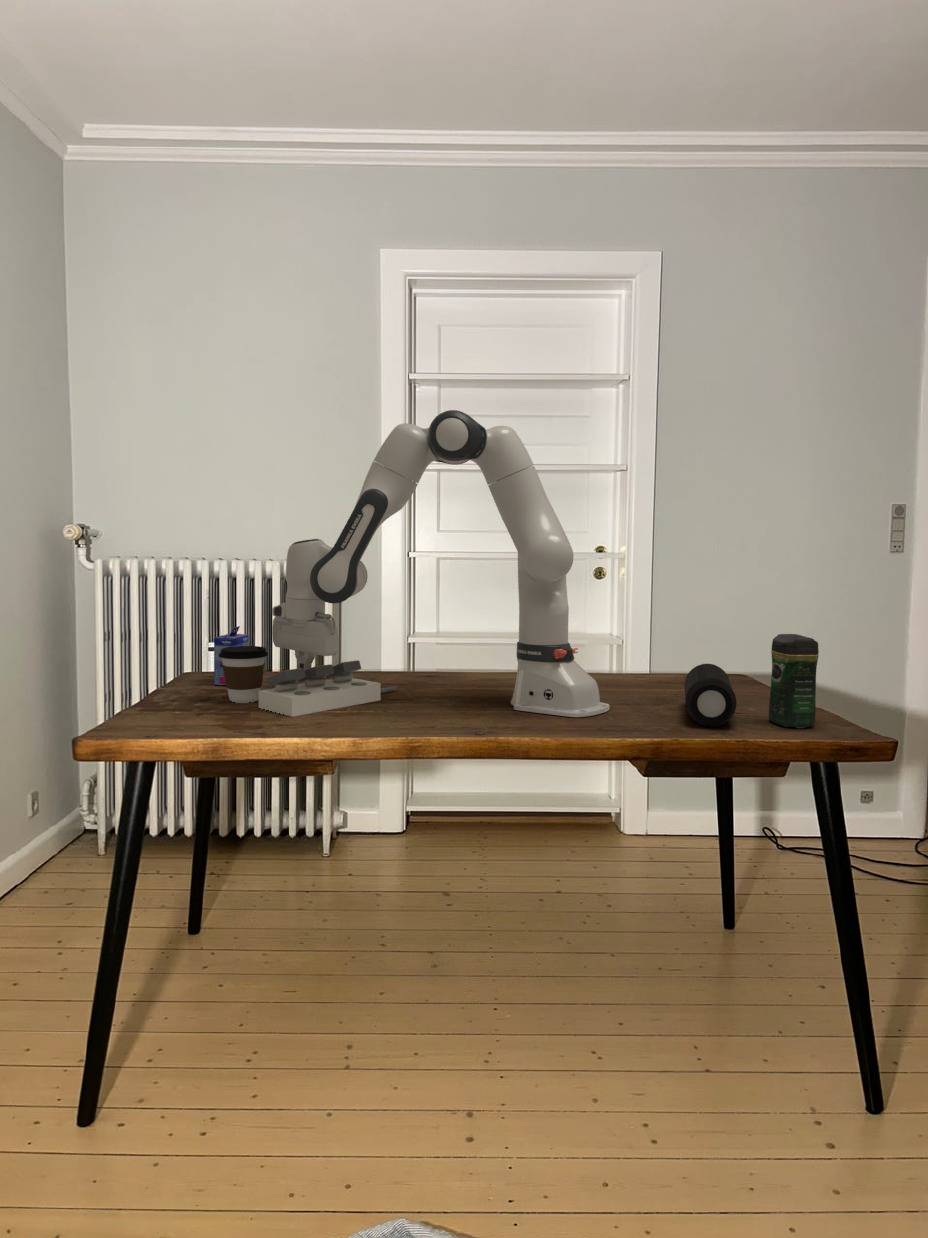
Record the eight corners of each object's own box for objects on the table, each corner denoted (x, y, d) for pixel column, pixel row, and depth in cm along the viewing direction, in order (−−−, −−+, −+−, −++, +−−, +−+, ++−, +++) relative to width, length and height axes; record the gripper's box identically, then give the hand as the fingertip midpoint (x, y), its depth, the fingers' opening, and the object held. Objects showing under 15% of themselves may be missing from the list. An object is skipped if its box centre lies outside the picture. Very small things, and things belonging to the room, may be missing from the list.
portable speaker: (736, 731, 175) (738, 681, 174) (685, 728, 177) (686, 679, 176) (728, 706, 199) (730, 662, 198) (683, 704, 202) (684, 661, 201)
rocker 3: (361, 668, 204) (359, 659, 204) (344, 671, 200) (342, 662, 200) (343, 675, 208) (340, 666, 209) (326, 678, 205) (324, 669, 205)
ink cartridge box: (234, 686, 219) (232, 629, 218) (213, 686, 220) (211, 628, 218) (250, 680, 229) (248, 624, 227) (229, 679, 230) (228, 624, 228)
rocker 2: (334, 673, 198) (332, 663, 198) (316, 675, 194) (314, 666, 194) (316, 679, 203) (314, 670, 203) (298, 682, 199) (296, 673, 199)
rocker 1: (305, 677, 192) (303, 667, 192) (286, 679, 188) (284, 670, 189) (287, 684, 197) (285, 674, 197) (268, 687, 193) (266, 677, 193)
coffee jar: (821, 729, 177) (826, 637, 175) (783, 729, 176) (788, 637, 174) (798, 718, 186) (802, 631, 184) (762, 719, 186) (766, 631, 184)
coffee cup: (266, 695, 208) (265, 644, 207) (271, 703, 198) (270, 651, 197) (218, 697, 205) (217, 646, 204) (221, 706, 195) (219, 652, 193)
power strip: (413, 694, 211) (413, 670, 210) (292, 716, 185) (291, 690, 184) (379, 687, 219) (379, 665, 218) (258, 708, 193) (258, 683, 192)
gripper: (345, 614, 195) (345, 675, 196) (289, 606, 208) (289, 664, 210) (323, 615, 190) (322, 678, 192) (267, 607, 204) (267, 666, 205)
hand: (304, 671), depth 201 cm, fingers closed
